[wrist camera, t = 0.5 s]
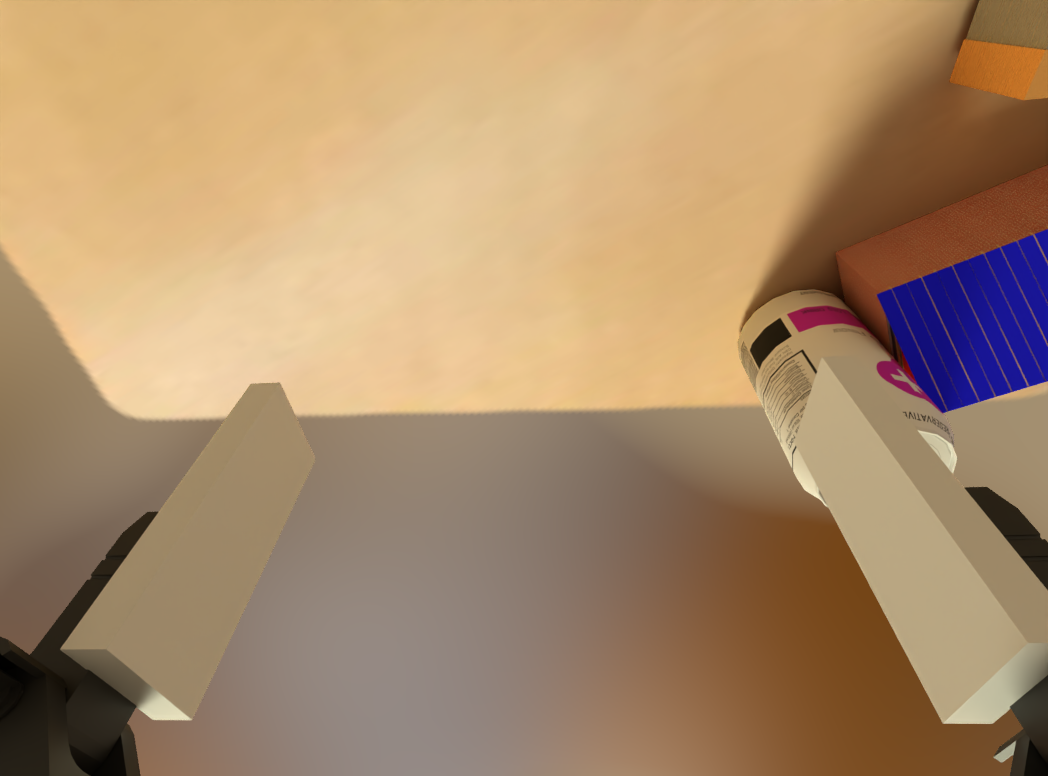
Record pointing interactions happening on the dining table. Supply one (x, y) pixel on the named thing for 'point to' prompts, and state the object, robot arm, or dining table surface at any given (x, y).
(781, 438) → the supplement can
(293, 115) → the dining table surface
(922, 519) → the robot arm
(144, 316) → the dining table surface
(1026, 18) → the turntable
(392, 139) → the dining table surface
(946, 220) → the house
